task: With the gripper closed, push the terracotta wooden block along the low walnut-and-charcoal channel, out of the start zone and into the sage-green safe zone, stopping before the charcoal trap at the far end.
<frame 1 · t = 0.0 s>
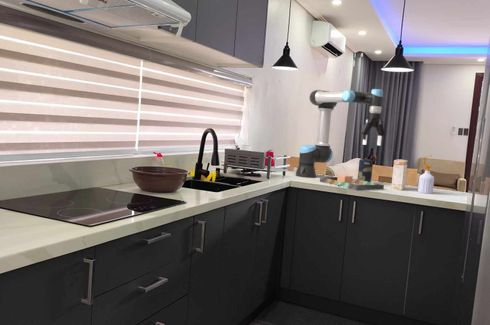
hand: (371, 145, 286), 28 cm above the worktop, fingers open, 13 cm apart
soap bottle: (425, 192, 281), on the worktop
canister: (363, 183, 309), on the worktop
trap channel: (350, 185, 289), on the worktop
coffeecake box: (397, 189, 291), on the worktop
block: (344, 184, 294), resting in trap channel
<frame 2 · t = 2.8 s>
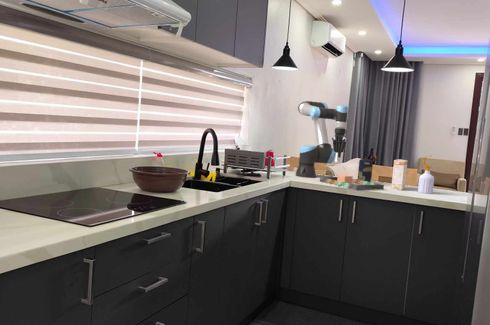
hand: (337, 162, 300), 14 cm above the worktop, fingers closed
nothing on the worktop moved.
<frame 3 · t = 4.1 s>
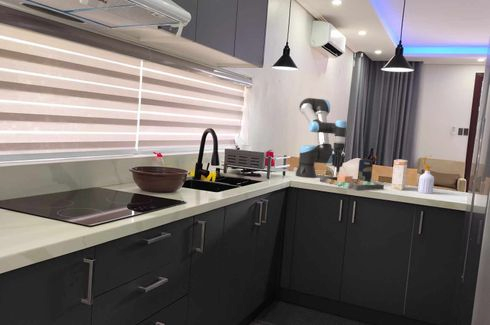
hand: (336, 176, 301), 4 cm above the worktop, fingers closed
nothing on the worktop moved.
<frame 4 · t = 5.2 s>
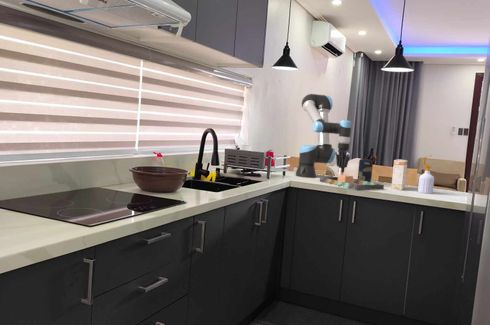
hand: (340, 177, 297), 4 cm above the worktop, fingers closed
block: (344, 184, 294), resting in trap channel, touching gripper
everything else where it was.
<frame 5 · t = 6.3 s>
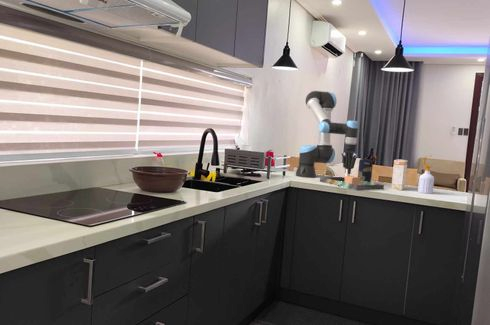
hand: (347, 178, 292), 4 cm above the worktop, fingers closed
block: (351, 185, 289), resting in trap channel, touching gripper
everything else where it was.
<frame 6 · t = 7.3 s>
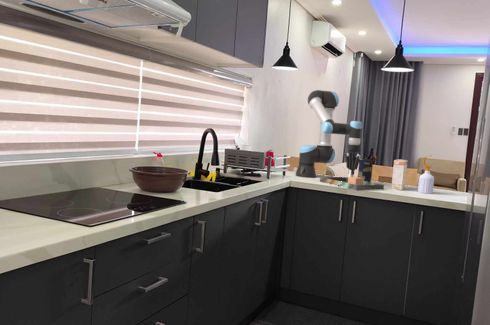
hand: (350, 179, 289), 4 cm above the worktop, fingers closed
block: (355, 186, 286), resting in trap channel, touching gripper
everything else where it was.
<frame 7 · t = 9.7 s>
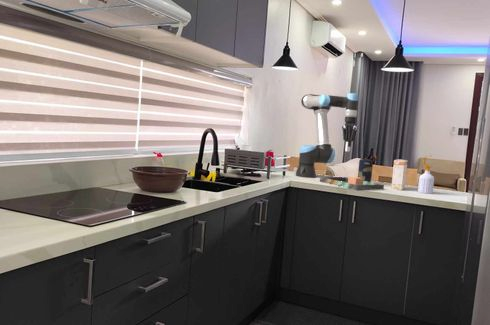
hand: (347, 151, 292), 22 cm above the worktop, fingers closed
block: (355, 186, 286), resting in trap channel
everything else where it was.
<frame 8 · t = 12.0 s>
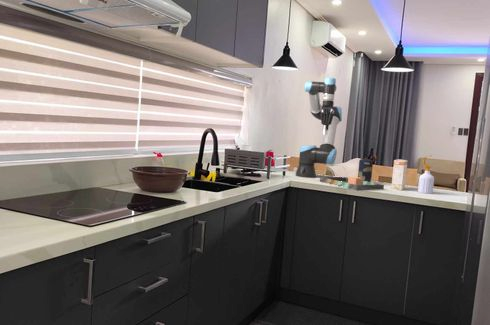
hand: (325, 134, 300), 32 cm above the worktop, fingers closed
nothing on the worktop moved.
at the end: block inside the target area (1.6 cm from its centre), resting in trap channel; block tilted 0°; the gripper is holding nothing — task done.
